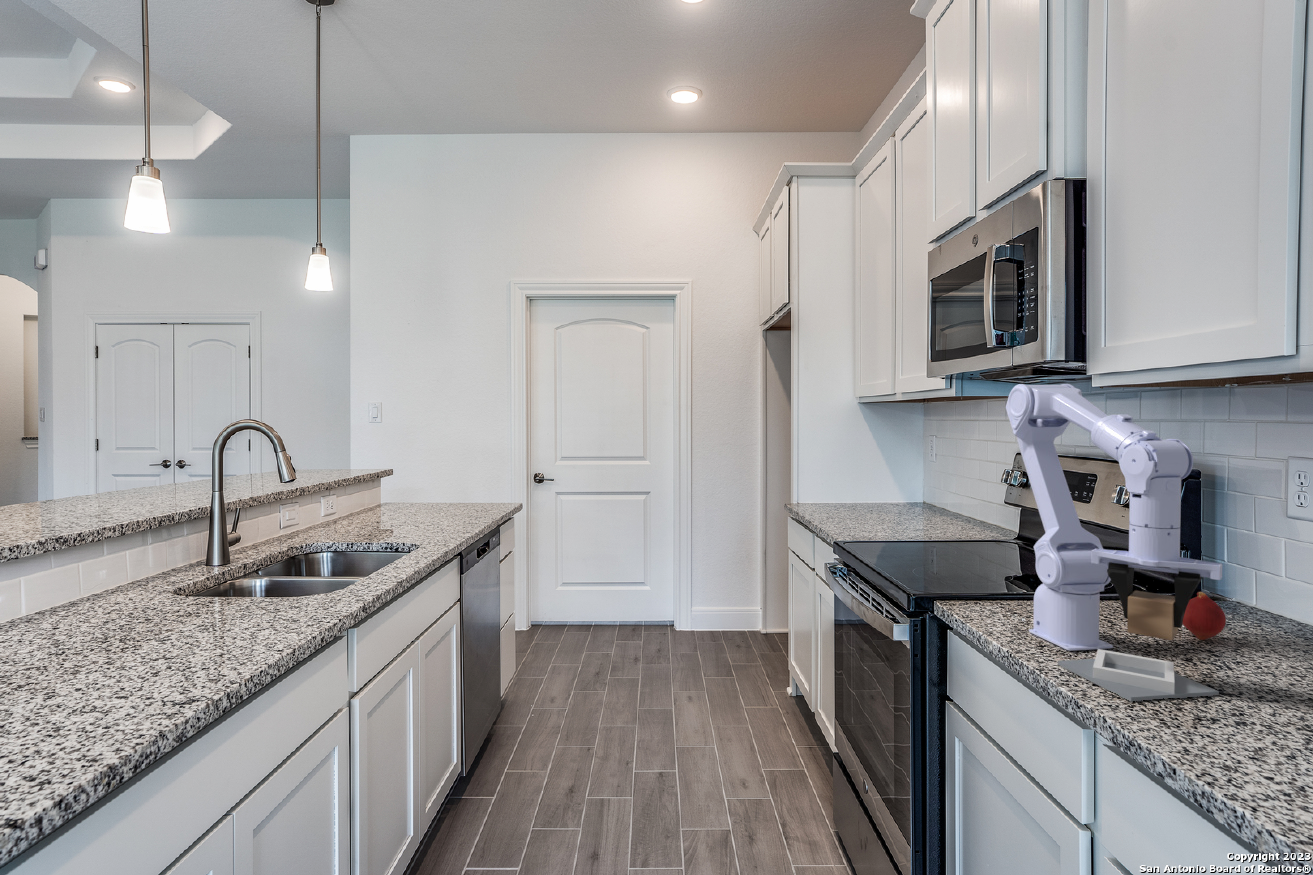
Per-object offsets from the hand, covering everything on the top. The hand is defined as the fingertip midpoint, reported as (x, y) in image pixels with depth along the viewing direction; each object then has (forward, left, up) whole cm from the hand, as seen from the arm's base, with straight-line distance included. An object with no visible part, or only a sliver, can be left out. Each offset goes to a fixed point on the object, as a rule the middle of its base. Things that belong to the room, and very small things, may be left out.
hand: (1152, 621), depth 92 cm
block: (0, 0, -2) cm, 2 cm away
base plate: (-1, -2, -8) cm, 9 cm away
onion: (-14, +23, -9) cm, 28 cm away
